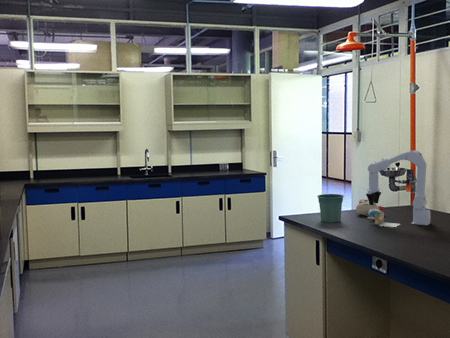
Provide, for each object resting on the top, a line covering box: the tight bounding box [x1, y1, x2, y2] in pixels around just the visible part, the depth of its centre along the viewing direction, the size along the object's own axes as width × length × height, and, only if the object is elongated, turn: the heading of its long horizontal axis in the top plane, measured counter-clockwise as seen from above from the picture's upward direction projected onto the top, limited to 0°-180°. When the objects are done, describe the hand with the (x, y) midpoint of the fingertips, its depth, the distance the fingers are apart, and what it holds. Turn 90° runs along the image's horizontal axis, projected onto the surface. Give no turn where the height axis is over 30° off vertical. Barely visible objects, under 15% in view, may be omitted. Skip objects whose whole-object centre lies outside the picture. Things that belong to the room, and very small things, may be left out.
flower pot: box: [317, 193, 345, 224], centre depth 318 cm, size 16×16×16 cm
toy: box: [355, 199, 386, 221], centre depth 328 cm, size 18×10×30 cm
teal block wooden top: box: [374, 211, 385, 225], centre depth 307 cm, size 4×6×7 cm, turn 146°
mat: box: [378, 222, 401, 228], centre depth 301 cm, size 10×10×1 cm
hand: (373, 204), depth 318 cm, fingers open, 7 cm apart
